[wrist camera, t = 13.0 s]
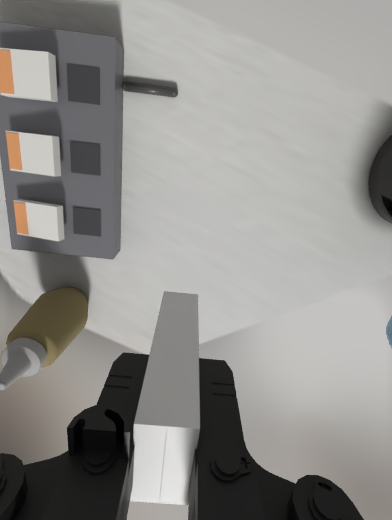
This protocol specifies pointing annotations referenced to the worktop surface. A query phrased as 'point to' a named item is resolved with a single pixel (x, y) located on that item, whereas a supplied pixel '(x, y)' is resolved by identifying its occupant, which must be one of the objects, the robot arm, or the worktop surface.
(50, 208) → the rocker
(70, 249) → the power strip
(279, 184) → the worktop surface
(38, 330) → the squeeze bottle
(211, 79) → the worktop surface
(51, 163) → the middle rocker
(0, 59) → the rocker
